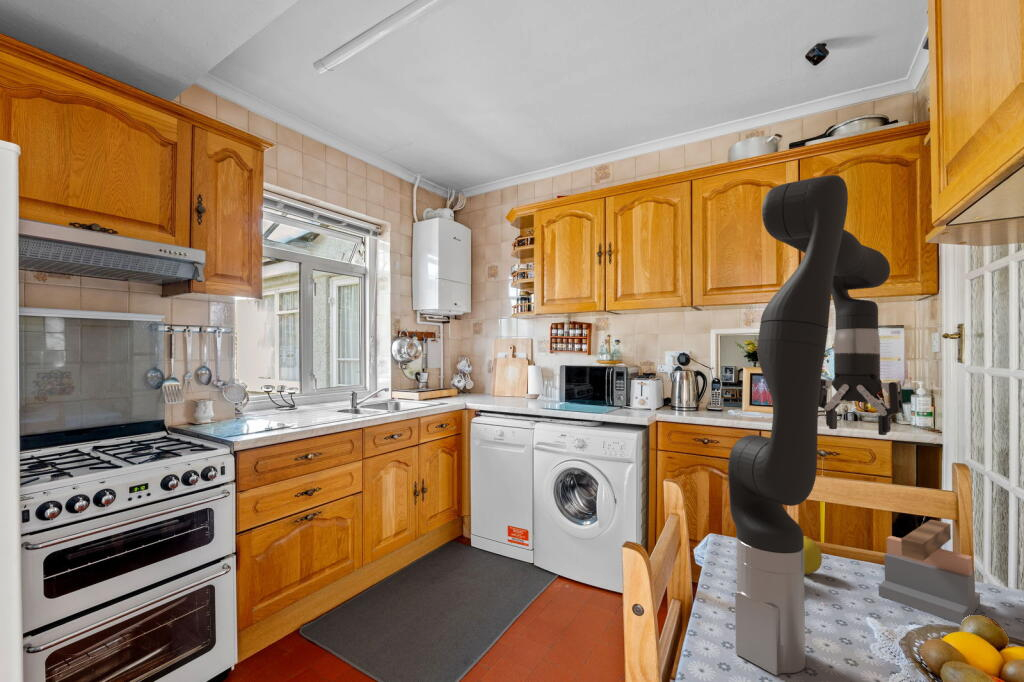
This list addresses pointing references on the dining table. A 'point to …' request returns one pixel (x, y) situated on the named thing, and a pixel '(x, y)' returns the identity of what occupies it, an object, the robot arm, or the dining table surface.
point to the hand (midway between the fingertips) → (856, 431)
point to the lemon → (811, 556)
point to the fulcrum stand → (931, 582)
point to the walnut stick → (926, 539)
